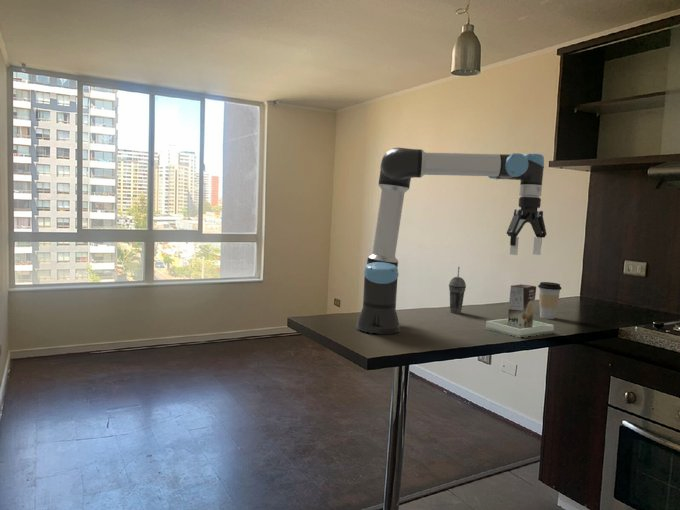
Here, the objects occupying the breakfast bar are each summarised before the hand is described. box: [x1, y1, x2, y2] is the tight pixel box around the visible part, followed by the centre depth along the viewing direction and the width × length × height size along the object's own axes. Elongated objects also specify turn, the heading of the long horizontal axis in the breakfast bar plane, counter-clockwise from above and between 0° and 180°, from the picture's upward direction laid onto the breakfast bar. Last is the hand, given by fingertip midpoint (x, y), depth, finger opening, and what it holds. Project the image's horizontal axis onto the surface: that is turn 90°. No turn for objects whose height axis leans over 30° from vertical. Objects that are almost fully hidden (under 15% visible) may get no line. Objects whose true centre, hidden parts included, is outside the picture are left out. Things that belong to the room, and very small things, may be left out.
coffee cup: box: [537, 281, 562, 320], centre depth 221 cm, size 9×9×15 cm
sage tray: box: [485, 318, 555, 339], centre depth 192 cm, size 20×15×3 cm
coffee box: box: [507, 284, 537, 329], centre depth 192 cm, size 9×6×16 cm
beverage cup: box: [448, 266, 467, 315], centre depth 222 cm, size 7×7×20 cm
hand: (525, 254), depth 190 cm, fingers open, 13 cm apart
